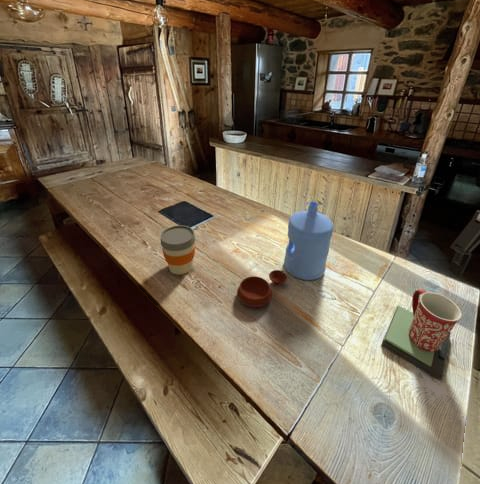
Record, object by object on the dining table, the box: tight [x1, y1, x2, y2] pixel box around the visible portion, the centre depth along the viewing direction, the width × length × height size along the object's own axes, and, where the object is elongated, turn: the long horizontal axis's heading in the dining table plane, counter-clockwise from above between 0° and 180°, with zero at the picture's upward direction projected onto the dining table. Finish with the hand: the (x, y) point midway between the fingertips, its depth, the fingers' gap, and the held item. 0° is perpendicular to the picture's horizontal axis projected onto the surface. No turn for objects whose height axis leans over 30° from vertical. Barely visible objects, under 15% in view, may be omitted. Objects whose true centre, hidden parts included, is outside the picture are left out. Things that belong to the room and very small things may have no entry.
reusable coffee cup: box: [160, 224, 196, 275], centre depth 100 cm, size 13×13×15 cm
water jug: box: [283, 201, 334, 281], centre depth 98 cm, size 16×16×28 cm
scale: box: [380, 305, 451, 381], centre depth 76 cm, size 14×16×3 cm
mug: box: [409, 289, 463, 352], centre depth 73 cm, size 13×9×14 cm
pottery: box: [236, 269, 288, 308], centre depth 91 cm, size 12×20×4 cm, turn 127°
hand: (474, 266), depth 65 cm, fingers open, 13 cm apart
